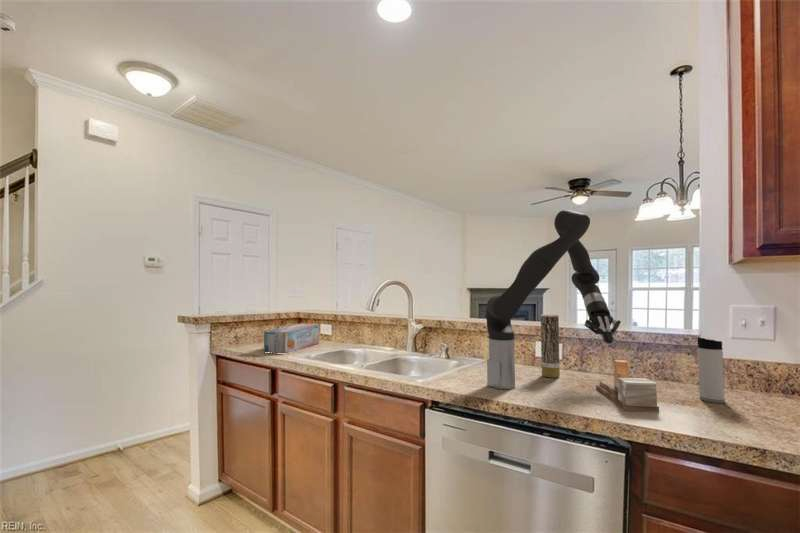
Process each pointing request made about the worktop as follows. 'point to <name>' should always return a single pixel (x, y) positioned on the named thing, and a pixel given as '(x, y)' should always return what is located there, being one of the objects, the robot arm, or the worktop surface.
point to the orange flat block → (620, 371)
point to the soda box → (291, 338)
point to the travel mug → (711, 370)
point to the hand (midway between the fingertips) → (609, 342)
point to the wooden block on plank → (632, 394)
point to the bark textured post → (550, 345)
